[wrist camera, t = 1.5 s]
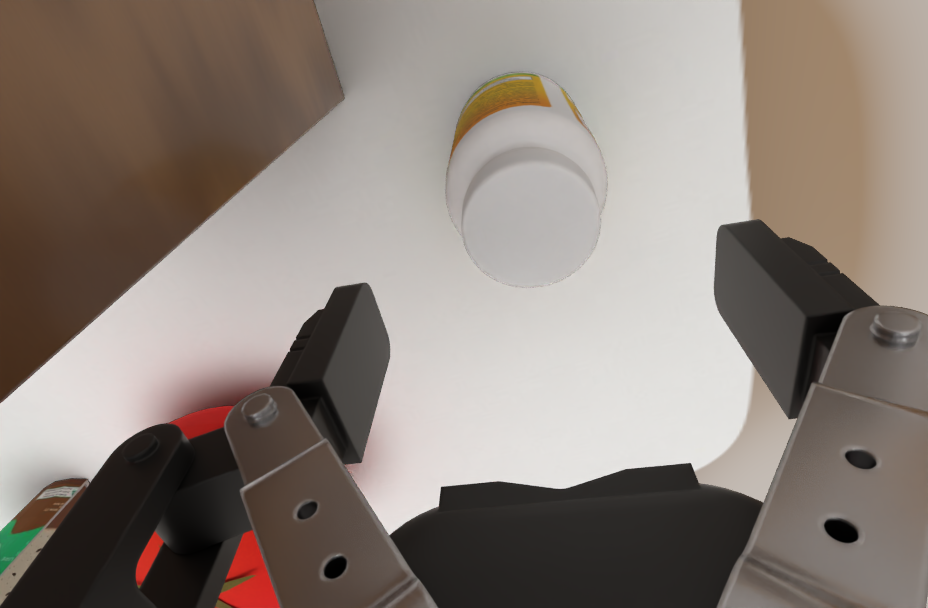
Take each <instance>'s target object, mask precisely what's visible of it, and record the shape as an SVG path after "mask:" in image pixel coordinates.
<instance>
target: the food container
mask: <svg viewBox="0 0 928 608" xmlns="http://www.w3.org/2000/svg"><path fill="white" fill-rule="evenodd" d="M88 485H89V482H88V480H87V479H66V480H61V481H55V482H53V483H52V484H50V485H48V486H47V487H45V488H44V489H43V490H42V491H41V492H40V493H39V494H38V495H37V496H36V497H34V498H33V499H32V500H31V501H30V502H29V503H28V504H27V505H26V506H25V507H24V508H23V509H22V510H21V511H20V512H19V513H18V514H17V515H16V516H15V517H14V518H13V519H12V520H11V521H10V522H9V523H8V524H7V525H6V526H5V527H4V528H3V529H2V530H1V531H0V605H1V604H2V603H3V601H4V600H5V599H6V597H7V596H8V594H9V593H10V592H11V590H12V589H13V588H14V586H15V585H16V584H17V582H18V581H19V579H20V578H21V577H22V575H23V574H24V573H25V571H26V570H27V569H28V567H29V566H30V564H31V563H32V562H33V560H34V559H35V558H36V556H37V555H38V554H39V552H40V551H41V549H42V548H43V547H44V545H45V544H46V543H47V541H48V540H49V538H50V537H51V536H52V534H53V533H54V532H55V530H56V529H57V528H58V526H59V525H60V523H61V522H62V521H63V519H64V518H65V517H66V515H67V514H68V513H69V511H70V510H71V508H72V507H73V506H74V504H75V503H76V502H77V500H78V499H79V498H80V496H81V495H82V493H83V492H84V491H85V489H86V488H87V487H88Z"/></svg>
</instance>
